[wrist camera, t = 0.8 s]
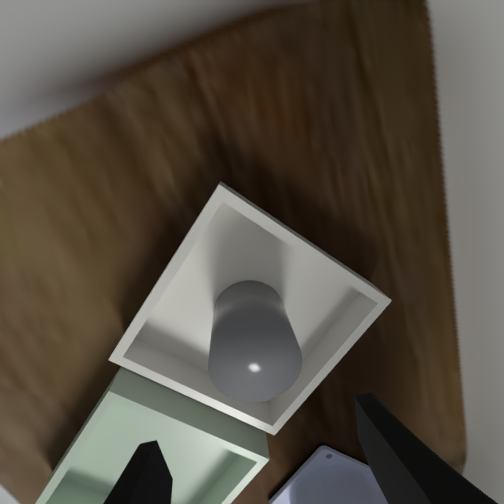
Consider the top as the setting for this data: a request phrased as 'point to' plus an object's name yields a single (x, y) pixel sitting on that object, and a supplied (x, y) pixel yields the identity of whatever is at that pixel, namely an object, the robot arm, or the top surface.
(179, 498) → the bin
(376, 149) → the top surface
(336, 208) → the top surface
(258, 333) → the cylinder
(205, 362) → the bin
